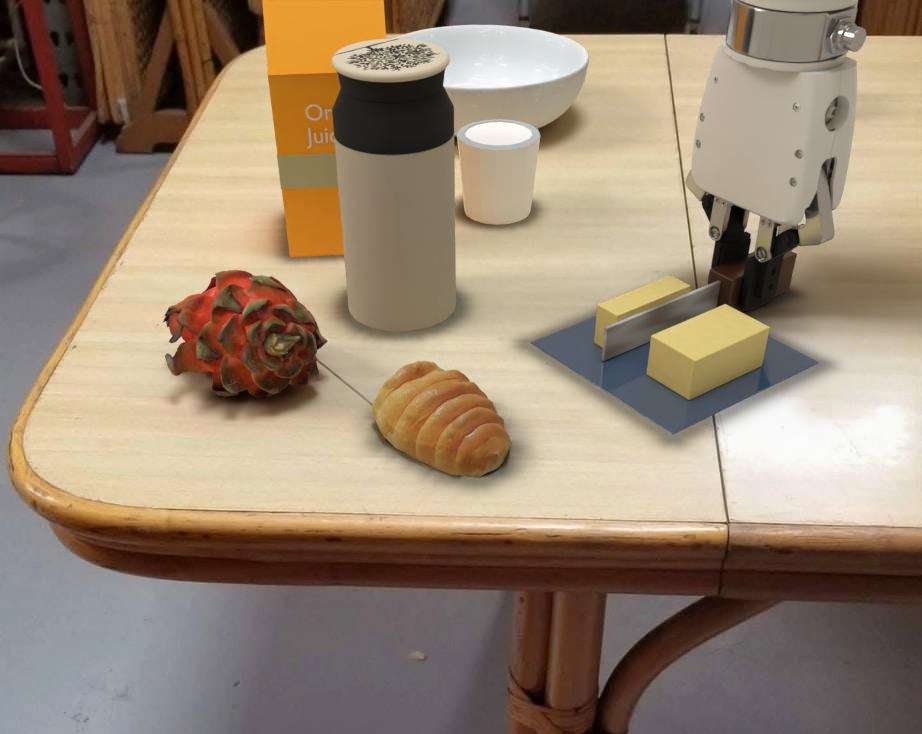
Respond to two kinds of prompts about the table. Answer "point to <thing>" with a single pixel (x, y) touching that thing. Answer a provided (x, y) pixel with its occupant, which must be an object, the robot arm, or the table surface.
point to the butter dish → (652, 397)
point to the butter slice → (636, 303)
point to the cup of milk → (498, 169)
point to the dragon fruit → (245, 335)
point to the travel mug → (396, 182)
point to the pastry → (441, 420)
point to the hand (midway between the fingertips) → (740, 294)
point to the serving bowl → (508, 72)
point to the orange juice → (311, 109)
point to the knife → (688, 305)
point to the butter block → (707, 351)
